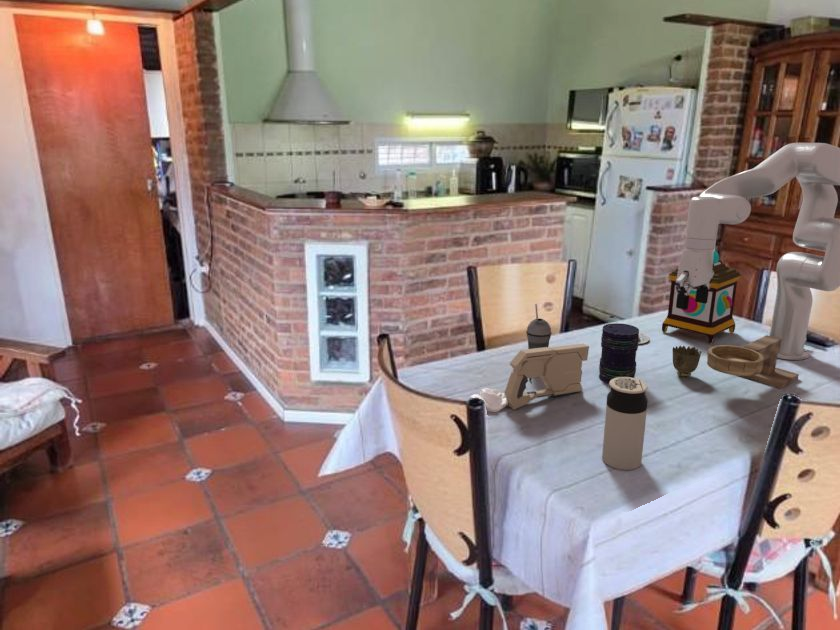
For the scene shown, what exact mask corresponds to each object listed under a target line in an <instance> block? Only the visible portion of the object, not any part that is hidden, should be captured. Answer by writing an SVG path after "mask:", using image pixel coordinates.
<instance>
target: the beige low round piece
mask: <svg viewBox="0 0 840 630" xmlns="http://www.w3.org/2000/svg"><path fill="white" fill-rule="evenodd" d="M638 335H639V337H638V339H639V340H640V339H641V340H642V341H639V342H638V345H643V344H647V343H648V342H649V341H650V337H649V336H647V335H646V334H644V333H641V332H639V334H638Z"/></svg>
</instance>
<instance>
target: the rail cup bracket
mask: <svg viewBox="0 0 840 630" xmlns="http://www.w3.org/2000/svg"><path fill="white" fill-rule="evenodd" d="M781 341H782V339H780V338H776V337H772V336H769V335H767V334H766V335H764V336H762V337H760V338H758V339H756V340H753V341H751V342H750V343H747V344H744V345H743V346H740V345H739V346H738V345H730V344H723V345H722V344H721V345H719V344H718V345H713V346H712V347H709V348H708V349H707V354H706V355H707V356H706V358H707V361H706V364H707V366H708V367H709V368H710V369H712V370H714V371H716V372H718V373H723V374H726V375H732V376H737V377H743V378H745V379H748V380H752V381H755V382H759V383H761V384H765V385H768V386H771V387H775V388H779V389H783V388H785V387H787V386H789V385H790V384H792V383H794V382H796V381H797V380H798V379H799V373H797V372H796V373H795V372H793V371H792V372H791V371H789V370H785V369H781V368H778V367H776V365H777V361H778V360H777V359H778V358H777V355H778V353H779V352H780V347H781Z"/></svg>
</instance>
